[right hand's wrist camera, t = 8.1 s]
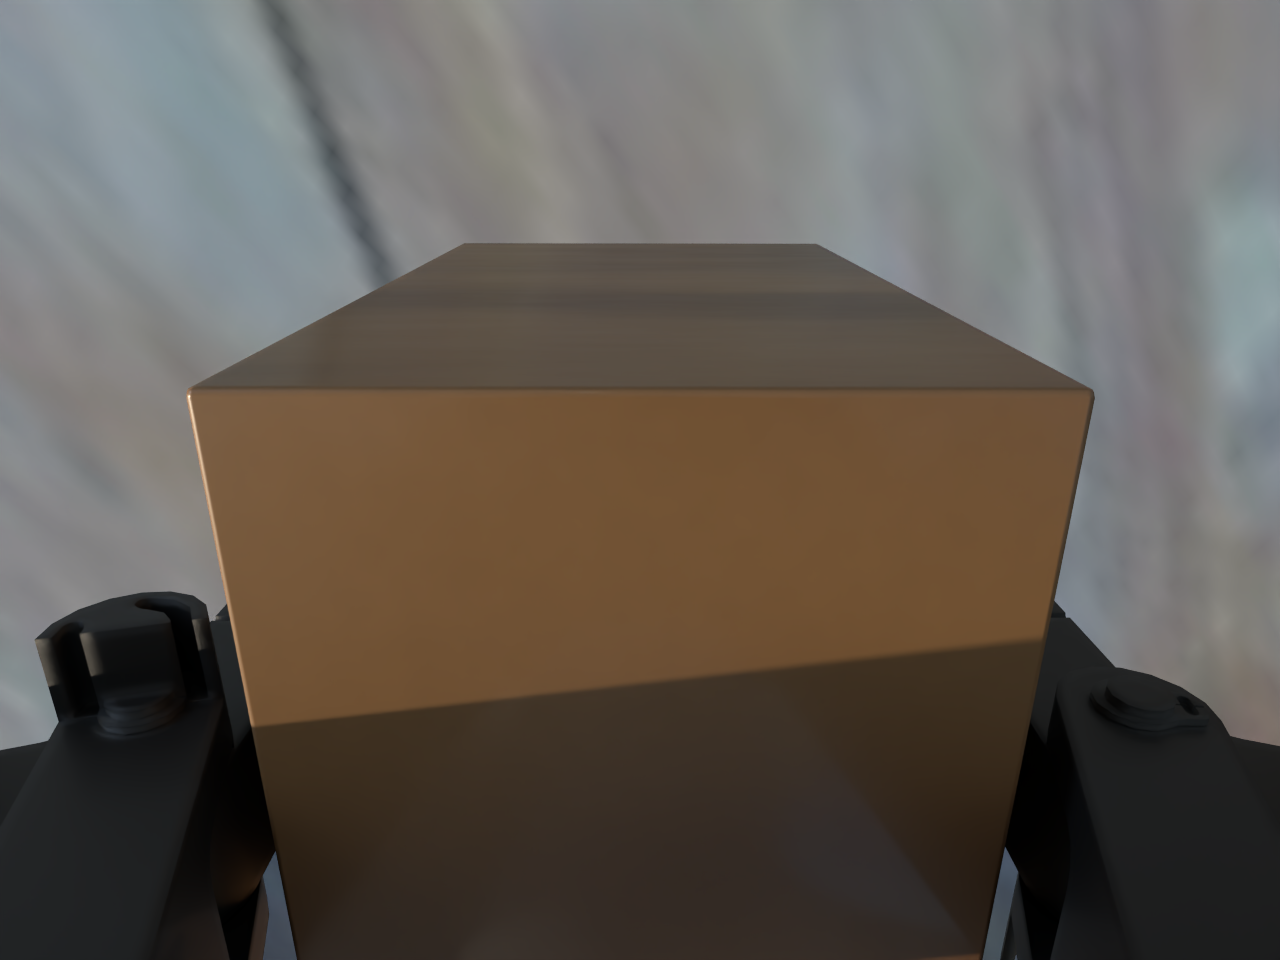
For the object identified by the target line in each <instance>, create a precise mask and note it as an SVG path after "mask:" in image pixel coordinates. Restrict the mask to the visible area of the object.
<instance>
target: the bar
mask: <svg viewBox="0 0 1280 960" xmlns="http://www.w3.org/2000/svg"><path fill="white" fill-rule="evenodd" d="M186 398H187V403H188V408H189V413H190V418H191V423H192V428H193V433H194V438H195V443H196V448H197V454H198V459H199V464H200V469H201V474H202V479H203V484H204V489H205V494H206V499H207V504H208V509H209V514H210V520H211V525H212V530H213V535H214V540H215V545H216V550H217V555H218V560H219V565H220V570H221V575H222V580H223V586H224V591H225V596H226V601H227V606H228V611H229V616H230V621H231V626H232V631H233V636H234V641H235V646H236V652H237V657H238V662H239V667H240V672H241V677H242V682H243V687H244V692H245V697H246V702H247V707H248V712H249V718H250V723H251V728H252V733H253V738H254V743H255V748H256V753H257V758H258V763H259V768H260V773H261V778H262V784H263V789H264V794H265V799H266V804H267V809H268V814H269V819H270V824H271V829H272V834H273V839H274V844H275V850H276V855H277V860H278V865H279V870H280V875H281V880H282V885H283V890H284V895H285V900H286V905H287V910H288V916H289V921H290V926H291V931H292V936H293V941H294V946H295V951H296V956H297V960H982V959H983V954H984V949H985V944H986V939H987V934H988V929H989V924H990V919H991V914H992V909H993V904H994V899H995V894H996V889H997V884H998V879H999V874H1000V869H1001V864H1002V859H1003V854H1004V849H1005V844H1006V839H1007V834H1008V829H1009V824H1010V819H1011V814H1012V809H1013V804H1014V799H1015V794H1016V789H1017V784H1018V779H1019V774H1020V769H1021V764H1022V759H1023V754H1024V749H1025V744H1026V739H1027V734H1028V729H1029V724H1030V719H1031V714H1032V709H1033V704H1034V699H1035V694H1036V689H1037V684H1038V679H1039V674H1040V669H1041V664H1042V659H1043V654H1044V649H1045V644H1046V639H1047V634H1048V629H1049V624H1050V619H1051V614H1052V609H1053V604H1054V599H1055V594H1056V589H1057V584H1058V579H1059V574H1060V569H1061V564H1062V559H1063V554H1064V549H1065V544H1066V539H1067V534H1068V529H1069V524H1070V519H1071V514H1072V509H1073V504H1074V499H1075V494H1076V489H1077V484H1078V479H1079V474H1080V469H1081V464H1082V459H1083V454H1084V449H1085V444H1086V439H1087V434H1088V429H1089V424H1090V419H1091V414H1092V409H1093V404H1094V399H1095V397H1094V392H1093V390H1092V389H1090V388H1089V387H1087V386H1085V385H1083V384H1081V383H1079V382H1077V381H1075V380H1073V379H1071V378H1070V377H1068V376H1066V375H1064V374H1062V373H1060V372H1058V371H1056V370H1054V369H1053V368H1051V367H1049V366H1047V365H1045V364H1043V363H1041V362H1039V361H1037V360H1036V359H1034V358H1032V357H1030V356H1028V355H1026V354H1024V353H1022V352H1020V351H1018V350H1017V349H1015V348H1013V347H1011V346H1009V345H1007V344H1005V343H1003V342H1001V341H1000V340H998V339H996V338H994V337H992V336H990V335H988V334H986V333H984V332H983V331H981V330H979V329H977V328H975V327H973V326H971V325H969V324H967V323H965V322H964V321H962V320H960V319H958V318H956V317H954V316H952V315H950V314H948V313H947V312H945V311H943V310H941V309H939V308H937V307H935V306H933V305H931V304H929V303H928V302H926V301H924V300H922V299H920V298H918V297H916V296H914V295H912V294H911V293H909V292H907V291H905V290H903V289H901V288H899V287H897V286H895V285H894V284H892V283H890V282H888V281H886V280H884V279H882V278H880V277H878V276H876V275H875V274H873V273H871V272H869V271H867V270H865V269H863V268H861V267H859V266H858V265H856V264H854V263H852V262H850V261H848V260H846V259H844V258H842V257H841V256H839V255H837V254H835V253H833V252H831V251H829V250H827V249H825V248H823V247H822V246H820V245H818V244H519V243H464V244H462V245H460V246H458V247H456V248H455V249H453V250H451V251H449V252H447V253H445V254H443V255H441V256H439V257H437V258H436V259H434V260H432V261H430V262H428V263H426V264H424V265H422V266H420V267H418V268H417V269H415V270H413V271H411V272H409V273H407V274H405V275H403V276H401V277H399V278H398V279H396V280H394V281H392V282H390V283H388V284H386V285H384V286H382V287H380V288H378V289H377V290H375V291H373V292H371V293H369V294H367V295H365V296H363V297H361V298H359V299H358V300H356V301H354V302H352V303H350V304H348V305H346V306H344V307H342V308H340V309H339V310H337V311H335V312H333V313H331V314H329V315H327V316H325V317H323V318H321V319H320V320H318V321H316V322H314V323H312V324H310V325H308V326H306V327H304V328H302V329H301V330H299V331H297V332H295V333H293V334H291V335H289V336H287V337H285V338H283V339H281V340H280V341H278V342H276V343H274V344H272V345H270V346H268V347H266V348H264V349H262V350H261V351H259V352H257V353H255V354H253V355H251V356H249V357H247V358H245V359H243V360H242V361H240V362H238V363H236V364H234V365H232V366H230V367H228V368H226V369H224V370H223V371H221V372H219V373H217V374H215V375H213V376H211V377H209V378H207V379H205V380H204V381H202V382H200V383H198V384H196V385H194V386H192V387H190V388H188V391H187V396H186Z"/></svg>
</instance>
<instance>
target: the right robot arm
mask: <svg viewBox="0 0 1280 960" xmlns="http://www.w3.org/2000/svg"><path fill="white" fill-rule="evenodd" d="M35 643H36V646H37V650H38V653H39V656H40V660H41V663H42V666H43V670H44V673H45V677H46V680H47V683H48V687H49V690H50V694H51V697H52V700H53V704H54V707H55V710H56V714H57V717H58V721H59V723H58V724H57V726H56V728H55V730H54V732H53V733H52V735H51V737H50V739H49V740H48V741H45V742H41V743H37V744H31V745H26V746H21V747H16V748H10V749H5V750H0V960H263V954H264V947H265V940H266V933H267V926H268V919H269V909H268V902H267V895H266V890H265V885H264V880H263V874H264V872H265V870H266V868H267V866H268V864H269V862H270V860H271V858H272V857H273V855H274V853H275V851H276V850H275V844H274V839H273V834H272V829H271V824H270V819H269V814H268V809H267V804H266V799H265V794H264V789H263V784H262V778H261V773H260V768H259V763H258V758H257V753H256V748H255V743H254V738H253V733H252V728H251V723H250V718H249V712H248V707H247V702H246V697H245V692H244V687H243V682H242V677H241V672H240V667H239V662H238V657H237V652H236V646H235V641H234V636H233V631H232V626H231V621H230V616H229V611H228V606H227V604H226V606H225V607H224V608H223V609H222V610H221V611H220V612H219V613H218V614H217V615H216V621H211V622H210V621H209V616H208V612H207V607H206V604H204V603H203V602H202V601H200V600H199V599H197V598H196V597H194V596H192V595H187V594H181V593H176V592H147V593H138V594H133V595H128V596H122V597H117V598H112V599H108V600H105V601H102V602H100V603H97V604H94V605H91V606H88V607H85V608H82V609H79V610H77V611H75V612H73V613H71V614H70V615H68V616H66V617H64V618H62V619H60V620H58V621H57V622H55V623H53V624H51V625H50V626H49V627H48V628H47V629H46V630H45V631H44V632H43V633H42V634H40V635H39V636H38V637H37V638H36V639H35ZM1005 847H1006V849H1007V851H1008V853H1009V855H1010V857H1011V858H1012V860H1013V862H1014V864H1015V866H1016V868H1017V870H1018V875H1017V880H1016V885H1015V890H1014V895H1013V899H1012V904H1011V909H1010V914H1009V919H1008V923H1007V928H1006V933H1005V938H1004V943H1003V947H1002V952H1001V959H1000V960H1014V959H1015V955H1017V958H1018V960H1280V746H1276V745H1270V744H1265V743H1260V742H1255V741H1249V740H1244V739H1240V738H1236V737H1232V736H1230V735H1229V733H1228V732H1227V730H1226V728H1225V726H1224V725H1223V723H1222V721H1221V720H1220V719H1219V718H1218V716H1217V715H1216V714H1215V713H1214V712H1213V711H1212V710H1211V709H1210V707H1209V706H1208V705H1207V704H1206V703H1205V702H1203V701H1202V700H1200V699H1199V698H1197V697H1195V696H1194V695H1192V694H1191V693H1189V692H1188V691H1186V690H1185V689H1183V688H1181V687H1179V686H1177V685H1175V684H1172V683H1170V682H1167V681H1165V680H1162V679H1160V678H1157V677H1155V676H1152V675H1149V674H1145V673H1141V672H1136V671H1132V670H1128V669H1123V668H1116V667H1115V666H1114V665H1113V664H1112V663H1111V662H1110V661H1109V660H1108V659H1107V658H1106V657H1105V655H1104V654H1103V653H1102V652H1101V651H1100V650H1099V649H1098V648H1097V647H1096V646H1095V645H1094V644H1093V642H1092V641H1091V640H1090V639H1089V638H1088V637H1087V636H1086V635H1085V634H1084V633H1083V632H1082V630H1081V629H1080V628H1079V627H1078V626H1077V625H1076V624H1075V623H1074V622H1073V621H1072V620H1071V618H1066V616H1065V612H1064V611H1063V610H1062V609H1061V608H1060V607H1059V605H1058V604H1057V603H1056V602H1055V601H1054V604H1053V609H1052V614H1051V619H1050V624H1049V629H1048V634H1047V639H1046V644H1045V649H1044V654H1043V659H1042V664H1041V669H1040V674H1039V679H1038V684H1037V689H1036V694H1035V699H1034V704H1033V709H1032V714H1031V719H1030V724H1029V729H1028V734H1027V739H1026V744H1025V749H1024V754H1023V759H1022V764H1021V769H1020V774H1019V779H1018V784H1017V789H1016V794H1015V799H1014V804H1013V809H1012V814H1011V819H1010V824H1009V829H1008V834H1007V839H1006V844H1005Z"/></svg>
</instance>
